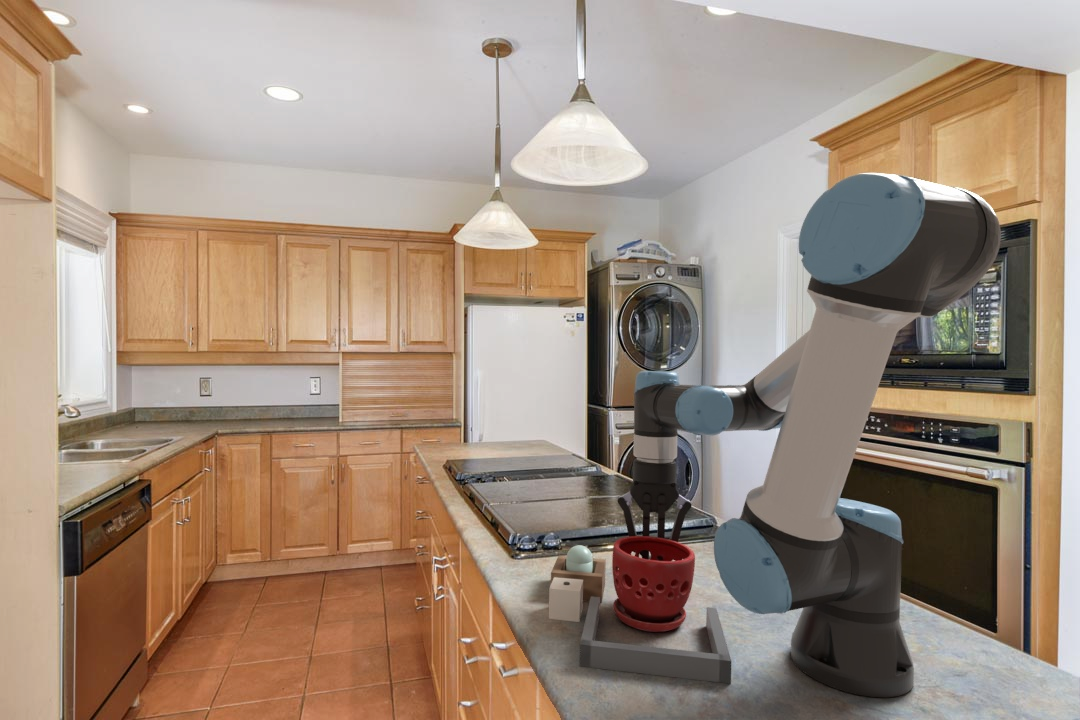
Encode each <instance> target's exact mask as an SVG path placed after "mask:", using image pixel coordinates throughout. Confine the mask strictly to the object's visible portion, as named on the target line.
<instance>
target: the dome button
mask: <svg viewBox="0 0 1080 720" xmlns="http://www.w3.org/2000/svg"><path fill="white" fill-rule="evenodd" d="M566 556H567V557H566V571H576V572H588V573H592V569H593V554H592V551H591V550H590V549H589V548H588V547H587V546H584V545H581V544H578V545H574V546H572V547H570V548H569V550H568V552H567V554H566Z"/></svg>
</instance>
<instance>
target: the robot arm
mask: <svg viewBox="0 0 1080 720" xmlns="http://www.w3.org/2000/svg"><path fill="white" fill-rule="evenodd" d="M798 236H799V237H798V253H799V255H801V256H802V258H801V263H802V266H803V268H804V269H805V270H806V271H807V273H809V274H810V277H809V279H810V280H809V282H808V285H807V289H806V292H807V294H808V295H809V297H810V298H811V301H813V303H814V305H815V312H814V315H813V318H812V321H811V325H810V328H809V330H807V332H805V333H804V334H802V336H800V337H799V338H798V339H797V340H796V341H795V342H794V343H792V344H791V345H790V346H789V347H788V348H787V349H786V350H784V351H783V352H782V353H781V354H779V356H777V357H776V358H775V359H774V360H773V361H772V362H770V363H769V364H768V365H767V366H766V367H765V368H763V369H762V370H761V371H760V372H759V373H757V374H756V375H755V376H754V377H752V378H751V379H750V380H749V381H748V382H746V383H745V384H741V385H740V384H737V385H736V384H735V385H732V384H728V385H713V384H712V385H711V384H710V385H706V384H705V385H697V384H695V385H694V384H692V385H691V384H680V382H679V381H680V380H679V375H678V373H677V372H675V371H666V370H665V371H661V370H659V371H658V370H657V371H655V370H642V371H639V372H638V373H637V374H636V376H635V384H634V385H635V386H634V391H633V395H634V396H633V407H634V408H633V415H634V416H633V424H634V425H633V429H634V430H633V450H632V451H633V456H634V457H636V458H634V460H633V461H632V462H633V464H632V468H633V469H632V484H631V486H630V488H629V491H627V492H626V493H624V494H619V495H618V498H617V503H618V505H619V507H620V508H621V510H622V511H623V516H624V520H625V526H626V530H627V534H628V537H630V536H638V534H637V531H636V525H635V521H634V516H633V511H632V508H631V505H632V503H633V502H632V499H633V500H634V501H635V503H636V505H637V506H638V508H639V509H640V510H641V511H642V535H641V536H650V532H651V531H650V528H651V527H650V526H651V525H650V524H651V521H650V520H651V513H656V514H657V531H656V533H657V536H656V537H658V538H664V539H666V538H665V535H666V533H665V532H666V531H665V530H666V529H665V528H666V512H668V511H669V509H671V507H672V506H673V505H674V504H675V502H676V501H677V502H676V508H677V511H676V515H675V518H674V521H673V525H672V529H671V533H670V537H669V539H668V540H672V541H676V542H678V543H679V539H680V535H681V531H682V529H683V524H684V521H685V517H686V515H687V514H688V512H689V511H690V510H691V508H692V503H691V499H690V498H685V497H684V496H682V495H681V494H680V491H679V488H678V486H677V480H678V479H677V472H678V471H677V469H678V465H677V464H678V463H677V462H676V460H675V459H677V457H678V432H679V431H681V432H687V433H691V434H693V435H696V436H703V435H704V436H716V435H717V436H718V435H720V434H721V433H723V432H733V431H734V432H735V431H739V432H740V431H760V432H761V431H762V432H764V431H767V432H768V431H771V430H776V429H779V432H778V434H777V437H776V438H777V439H776V442H775V445H774V448H773V452H772V454H771V458H770V461H769V465H768V468H767V472H766V474H765V478H764V481H763V485H760V486H757V487H754V488H753V489H751V490H750V491H748V493H747V494H746V498H745V501H744V504H743V508H742V510H741V511H742V512H741V515H740V517H739V518H735V517H733V518H730V519H728V520H727V521H724V522H723V523H721V524H720V525H719V527H718V528H717V530H716V533H715V535H714V540H713V554H714V563H715V566H716V569H717V570H718V574H719V577H720V579H721V581H722V583H723V585H724V587H725V588H726V590H727V591H728V594H729V595H730V596H731V597H732V598H733V600H735V601H736V602H737V603H738V605H740V606H741V607H743V608H744V609H746V610H747V611H749V612H752V613H755V614H758V615H769V614H786V613H787V612H790V611H794V610H799V609H802V610H801V612H800V614H799V618H798V620H797V622H796V624H795V628H794V629H793V632H792V635H791V639H790V658H791V660H792V662H793V663H794V665H795V666H796V667H797V668H798V669H799V670H800V671H802V672H803V673H804V674H806V675H807V676H809V677H810V678H812V679H813V680H815V681H818V682H819V683H821V684H824V685H825V686H828V687H830V688H833V689H836V690H839V691H843V692H846V693H849V694H854V695H858V696H865V697H872V698H893V697H894V698H895V697H898V696H903V695H905V694H907V693H908V692H910V691H912V689H913V687H914V681H915V680H914V678H915V677H914V675H915V667H914V662H913V660H912V656H911V653H910V650H909V646H908V644H907V640H906V637H905V635H904V632H903V631H904V630H903V629H902V625H901V622H900V620H901V618H900V616H901V615H900V614H901V613H900V611H901V584H902V583H901V582H902V577H901V576H902V555H903V554H902V552H903V551H902V548H903V547H902V546H903V544H904V538H903V535H902V521H901V518H900V517H899V516H898V514H897V513H895V512H893V511H892V510H891V509H888V508H886V507H882V506H879V505H875V504H872V503H867V502H864V501H863V502H862V501H858V500H854V499H848V498H841V494H842V492H843V489H844V487H845V484H846V482H847V477H848V474H849V473H850V469H851V466H852V464H853V460H854V458H855V455H856V452H857V449H858V446H859V443H860V441H861V438H862V434H863V432H864V430H865V429H864V428H865V427H866V424H867V421H868V417H869V415H870V412H871V408H872V406H873V403H874V401H875V397H876V394H877V393H878V392H877V391H878V388H879V385H880V383H881V380H882V377H883V374H884V372H885V369H886V365H887V363H888V360H889V357H890V354H891V351H892V348H893V346H894V343H895V340H896V336H897V334H898V332H899V331H900V330H902V329H903V328H905V327H906V326H908V324H910V323H912V322H913V321H914V320H916V319H917V318H925V319H926V318H927V319H928V318H933V317H934V316H936V315H937V314H939V313H940V312H942V310H945V308H948V306H951V305H952V304H953V303H955V301H956V300H958V299H960V298H961V297H962V296H963V295H965V294H966V293H967V292H969V291H970V290H971V289H972V288H973V287H975V286H976V284H978V282H980V280H981V279H982V278H983V277H984V276H985V275H986V274H987V272H988V271H990V269H991V267H992V265H993V264H994V262H995V261H996V258H997V256H998V254H999V251H1000V247H1001V246H1000V245H1001V240H1002V231H1001V225H1000V220H999V218H998V216H997V215H996V213H995V211H994V209H993V207H992V206H991V205H990V204H989V203H988V202H986V200H985V199H984V198H982V197H980V196H979V195H978V194H976V193H974V192H972V191H969V190H967V189H963V188H960V187H955V186H946V185H943V184H939V183H934V182H930V181H925V180H923V179H922V180H921V179H918V178H914V177H909V176H907V175H899V174H896V173H891V174H890V173H879V172H878V173H877V172H863V173H862V172H861V173H858V174H854V175H851V176H847V177H846V178H844V179H841V180H839V181H838V182H836V183H835V184H834V185H833V186H832V187H831V188H829V189H828V190H826V191H824V192H823V193H822V194H821V195H820V196H819V197H818V198H817V199H816V201H815V202H814V203H813V205H812V206H811V207H810V209H809V210H808V211H807V214H806V216H805V217H804V220H803V222H802V224H801V228H800V232H799V235H798ZM632 553H634V554H635V551H633V552H632ZM639 556H641V558H643V559H648V560H650V559H651V554H650V552H649V551H648V550H642V551H641V552H640V554H639ZM657 558H658V560H659V561H663V557H662V556H658V557H657Z"/></svg>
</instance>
